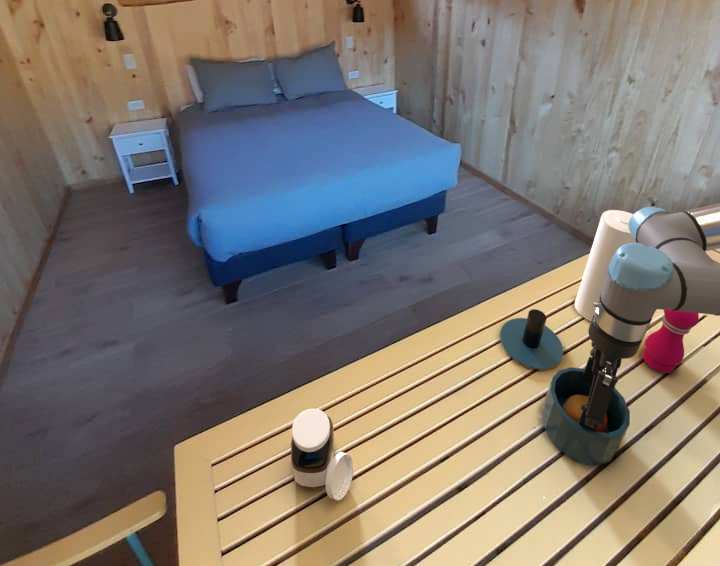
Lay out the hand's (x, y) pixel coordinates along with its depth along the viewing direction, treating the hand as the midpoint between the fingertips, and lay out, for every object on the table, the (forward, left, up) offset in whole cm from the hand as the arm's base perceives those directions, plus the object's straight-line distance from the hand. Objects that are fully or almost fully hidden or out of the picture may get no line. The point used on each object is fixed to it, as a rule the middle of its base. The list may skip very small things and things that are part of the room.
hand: (587, 404), depth 78 cm
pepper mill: (-15, -26, -8) cm, 31 cm away
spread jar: (+41, +32, -8) cm, 53 cm away
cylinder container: (-1, -36, -8) cm, 37 cm away
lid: (+12, -16, -7) cm, 21 cm away
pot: (0, 0, -8) cm, 8 cm away
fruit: (0, 0, -7) cm, 7 cm away
